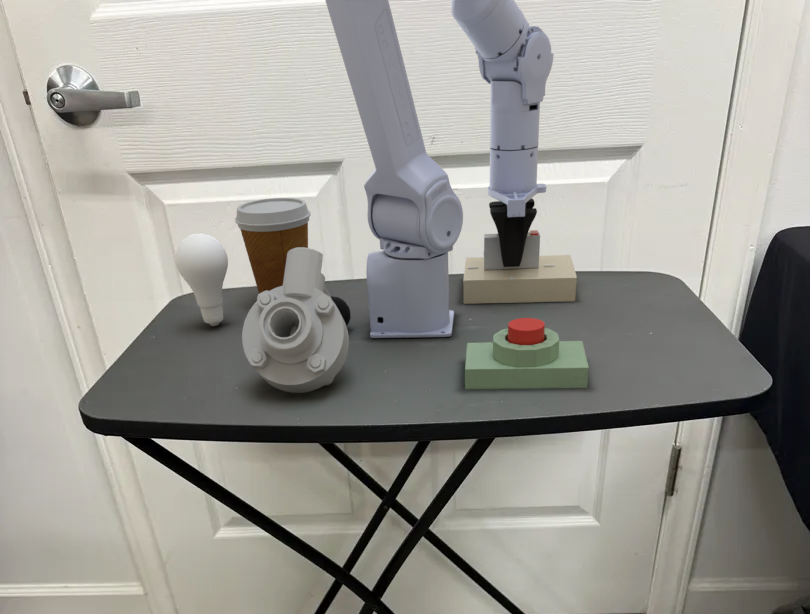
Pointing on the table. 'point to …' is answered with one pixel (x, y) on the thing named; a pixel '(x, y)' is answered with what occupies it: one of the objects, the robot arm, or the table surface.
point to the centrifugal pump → (298, 328)
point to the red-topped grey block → (494, 252)
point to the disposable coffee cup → (272, 236)
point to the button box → (526, 364)
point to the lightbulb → (204, 273)
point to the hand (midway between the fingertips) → (511, 263)
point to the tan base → (520, 282)
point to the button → (526, 331)
